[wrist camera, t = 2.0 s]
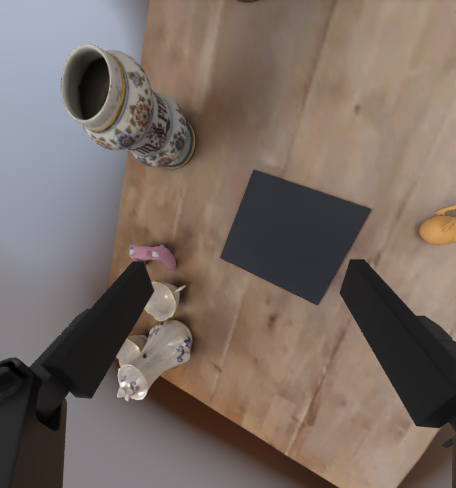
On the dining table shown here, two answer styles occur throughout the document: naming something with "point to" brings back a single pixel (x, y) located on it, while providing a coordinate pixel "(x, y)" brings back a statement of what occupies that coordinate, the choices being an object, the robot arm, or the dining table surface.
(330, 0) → the dining table surface
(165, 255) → the video game controller
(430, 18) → the dining table surface
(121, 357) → the chinaware
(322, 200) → the mat
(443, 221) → the figurine
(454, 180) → the dining table surface
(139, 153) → the apothecary jar
